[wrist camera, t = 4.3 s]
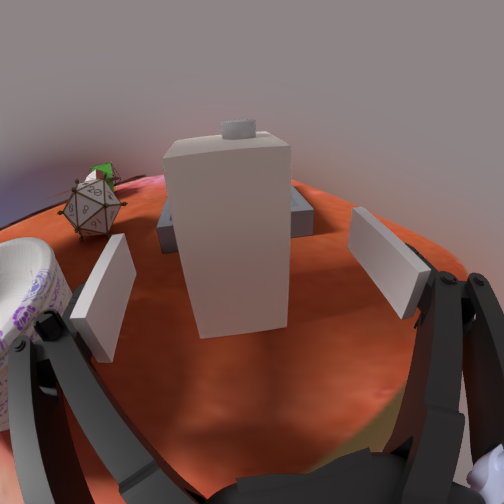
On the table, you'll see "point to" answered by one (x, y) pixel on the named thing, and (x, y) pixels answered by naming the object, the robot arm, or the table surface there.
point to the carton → (233, 227)
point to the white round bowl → (25, 298)
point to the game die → (92, 208)
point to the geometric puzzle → (98, 174)
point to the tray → (299, 222)
